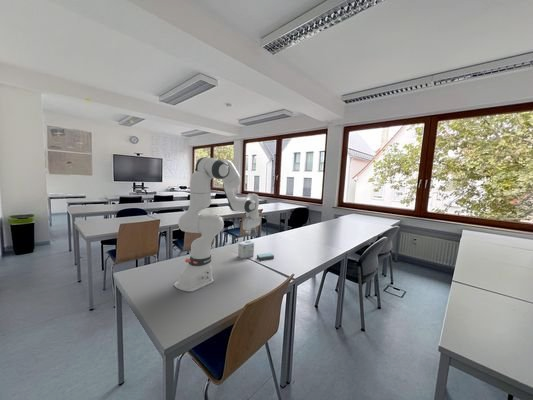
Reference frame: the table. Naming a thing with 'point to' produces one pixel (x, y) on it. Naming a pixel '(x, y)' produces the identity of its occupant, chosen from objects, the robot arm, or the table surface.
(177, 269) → the table surface
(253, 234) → the dongle
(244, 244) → the light bulb box
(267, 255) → the eraser
